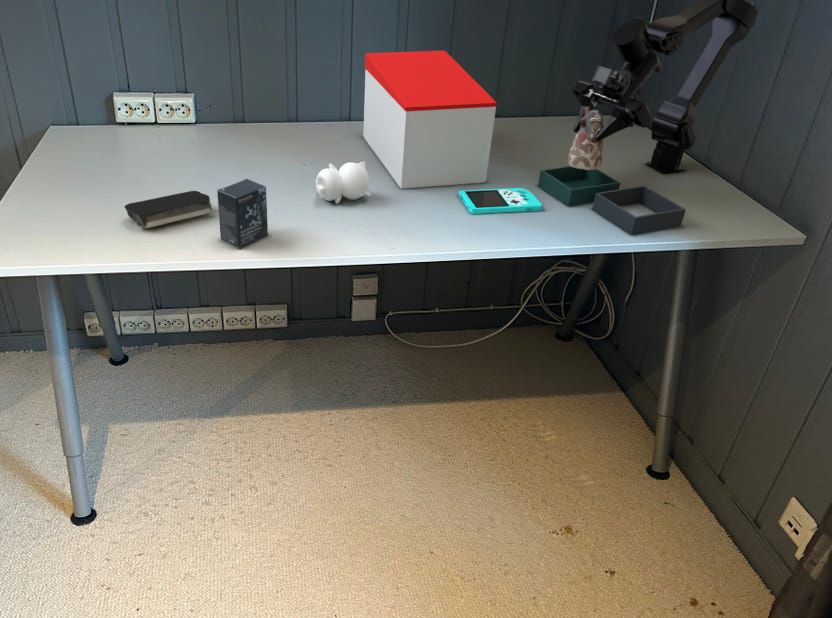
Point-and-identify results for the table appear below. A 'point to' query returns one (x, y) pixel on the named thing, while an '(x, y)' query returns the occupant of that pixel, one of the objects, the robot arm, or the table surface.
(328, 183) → the cat figurine
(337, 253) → the table surface
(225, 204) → the box
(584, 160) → the ceramic spout vessel
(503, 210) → the handheld game console
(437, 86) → the storage cube
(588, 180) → the teal tote
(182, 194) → the black sponge
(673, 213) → the grey tote
